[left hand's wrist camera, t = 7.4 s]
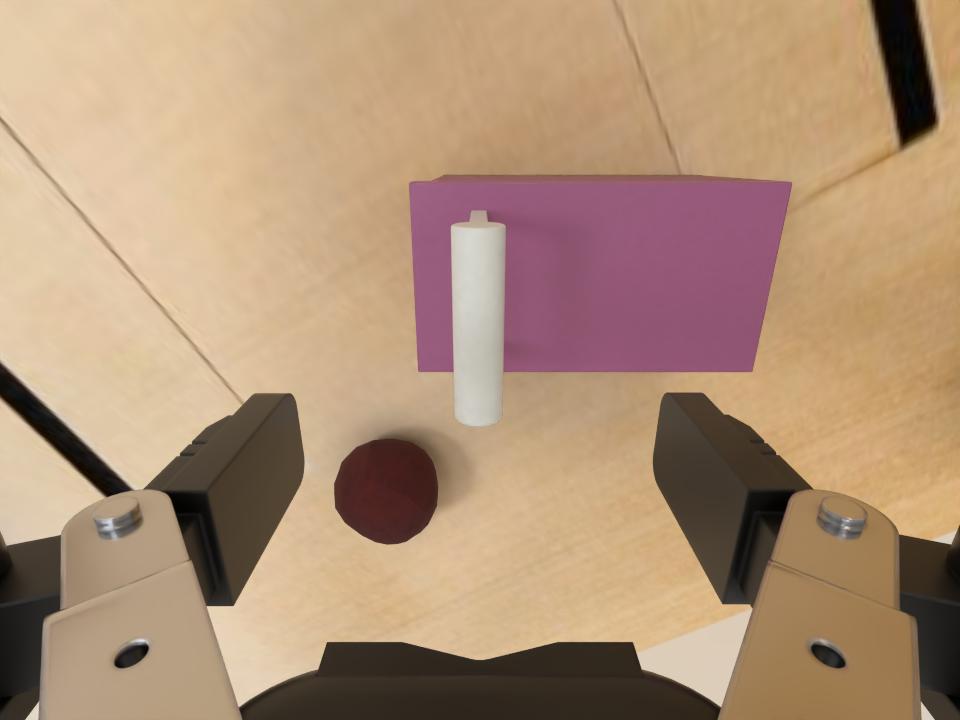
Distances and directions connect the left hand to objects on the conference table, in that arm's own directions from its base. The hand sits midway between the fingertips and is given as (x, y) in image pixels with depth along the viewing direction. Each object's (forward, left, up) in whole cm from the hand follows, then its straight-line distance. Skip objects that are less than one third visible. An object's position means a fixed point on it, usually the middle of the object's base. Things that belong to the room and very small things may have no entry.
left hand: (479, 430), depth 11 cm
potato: (+18, +5, -25) cm, 31 cm away
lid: (-3, +4, -15) cm, 16 cm away
